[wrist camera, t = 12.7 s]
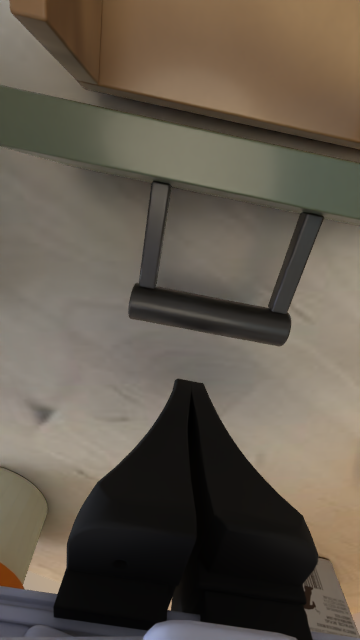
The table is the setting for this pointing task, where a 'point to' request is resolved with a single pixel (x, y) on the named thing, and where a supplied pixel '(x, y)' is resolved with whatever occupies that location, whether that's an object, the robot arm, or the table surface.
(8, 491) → the reusable coffee cup
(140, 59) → the drawer
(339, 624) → the coffee box
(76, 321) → the table surface
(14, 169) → the table surface
